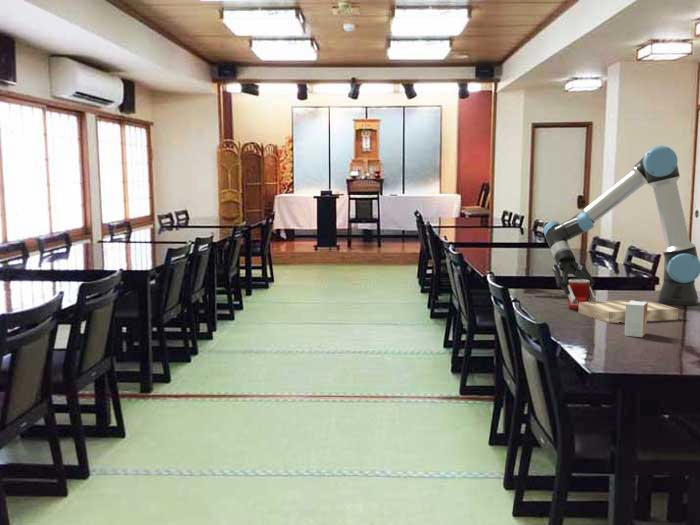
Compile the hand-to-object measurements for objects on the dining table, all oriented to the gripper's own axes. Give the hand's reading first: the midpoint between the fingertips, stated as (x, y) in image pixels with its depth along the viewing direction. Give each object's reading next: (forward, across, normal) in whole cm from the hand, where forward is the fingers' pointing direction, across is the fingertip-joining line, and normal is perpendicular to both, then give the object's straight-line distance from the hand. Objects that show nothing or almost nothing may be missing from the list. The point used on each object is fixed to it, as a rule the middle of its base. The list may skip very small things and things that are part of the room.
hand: (583, 300), depth 263 cm
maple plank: (+13, -10, +7) cm, 17 cm away
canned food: (0, 0, -5) cm, 5 cm away
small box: (+33, +6, +26) cm, 42 cm away
